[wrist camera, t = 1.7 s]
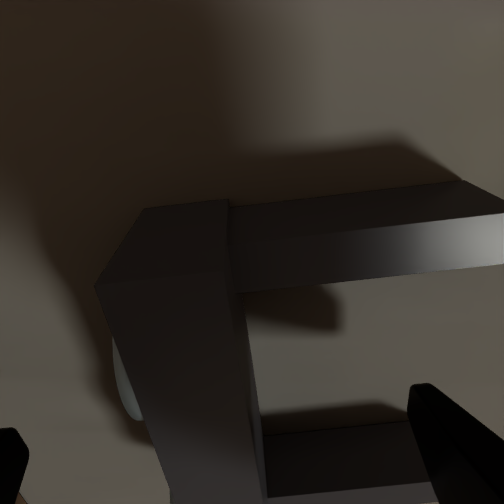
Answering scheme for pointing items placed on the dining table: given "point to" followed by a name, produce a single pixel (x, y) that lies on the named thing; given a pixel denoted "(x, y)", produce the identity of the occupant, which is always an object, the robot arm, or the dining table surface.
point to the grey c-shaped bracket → (237, 340)
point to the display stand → (20, 500)
